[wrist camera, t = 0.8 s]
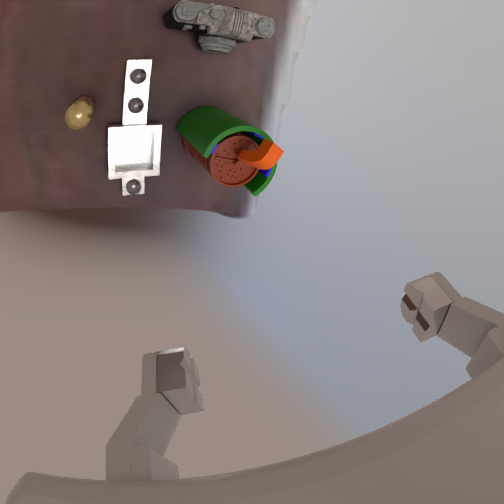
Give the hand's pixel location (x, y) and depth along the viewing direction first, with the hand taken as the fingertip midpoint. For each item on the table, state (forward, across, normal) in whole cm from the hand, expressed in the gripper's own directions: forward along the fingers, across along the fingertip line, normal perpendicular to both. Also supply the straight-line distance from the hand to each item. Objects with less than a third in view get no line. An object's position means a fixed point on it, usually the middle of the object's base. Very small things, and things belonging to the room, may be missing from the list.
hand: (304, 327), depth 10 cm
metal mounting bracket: (+41, +12, -1) cm, 43 cm away
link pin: (+39, +18, -8) cm, 44 cm away
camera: (+44, -2, -14) cm, 46 cm away
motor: (+44, +1, +3) cm, 44 cm away
